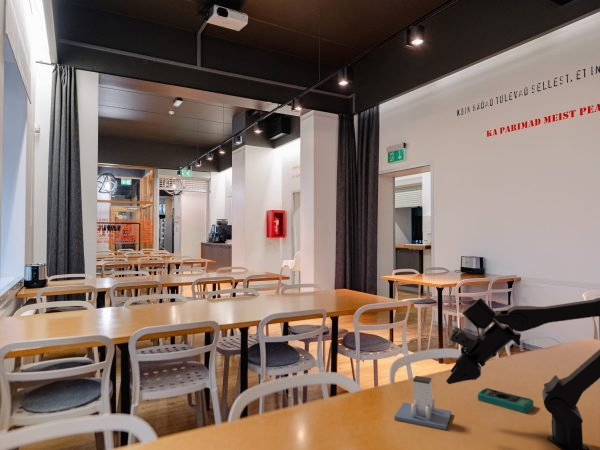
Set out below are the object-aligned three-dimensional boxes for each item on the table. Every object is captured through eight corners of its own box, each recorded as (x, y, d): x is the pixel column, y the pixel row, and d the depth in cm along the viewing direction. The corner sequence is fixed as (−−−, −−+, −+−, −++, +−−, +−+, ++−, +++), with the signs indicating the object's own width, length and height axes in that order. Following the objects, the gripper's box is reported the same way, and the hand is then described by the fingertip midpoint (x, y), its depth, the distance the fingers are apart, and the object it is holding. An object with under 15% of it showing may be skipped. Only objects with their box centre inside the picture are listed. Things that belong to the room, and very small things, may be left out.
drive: (432, 412, 116) (431, 378, 116) (430, 417, 112) (429, 381, 113) (416, 409, 118) (415, 375, 118) (414, 414, 115) (413, 379, 115)
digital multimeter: (485, 395, 132) (484, 386, 132) (534, 408, 121) (534, 398, 121) (475, 401, 127) (475, 392, 127) (526, 415, 116) (526, 405, 116)
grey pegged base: (451, 414, 117) (451, 398, 117) (445, 430, 107) (445, 413, 107) (403, 405, 123) (403, 390, 123) (394, 419, 114) (394, 403, 114)
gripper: (470, 313, 118) (433, 346, 123) (464, 325, 102) (421, 363, 107) (501, 342, 114) (461, 375, 119) (499, 360, 98) (454, 398, 103)
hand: (449, 377), depth 112 cm, fingers open, 9 cm apart
